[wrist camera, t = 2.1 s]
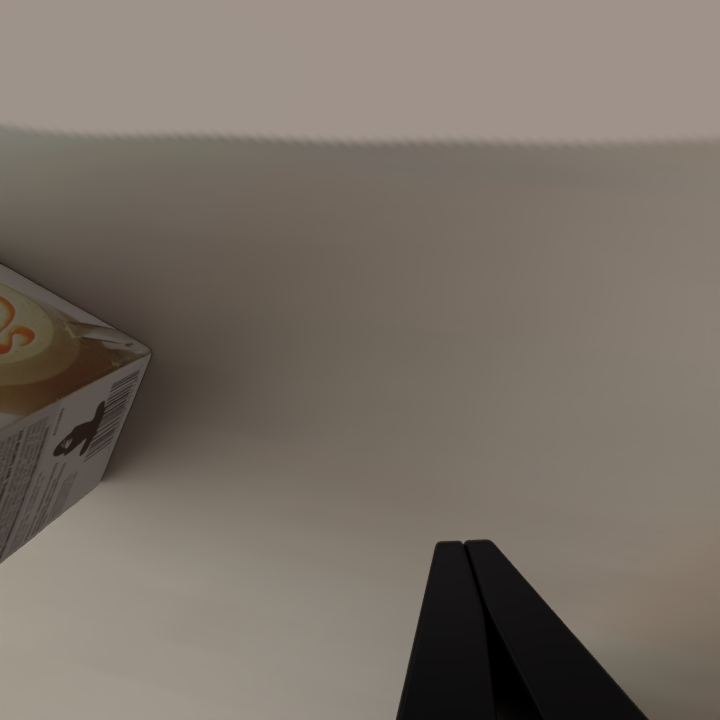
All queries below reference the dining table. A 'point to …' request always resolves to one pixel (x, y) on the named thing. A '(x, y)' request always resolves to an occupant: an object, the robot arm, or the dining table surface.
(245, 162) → the dining table surface
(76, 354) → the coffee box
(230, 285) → the dining table surface
